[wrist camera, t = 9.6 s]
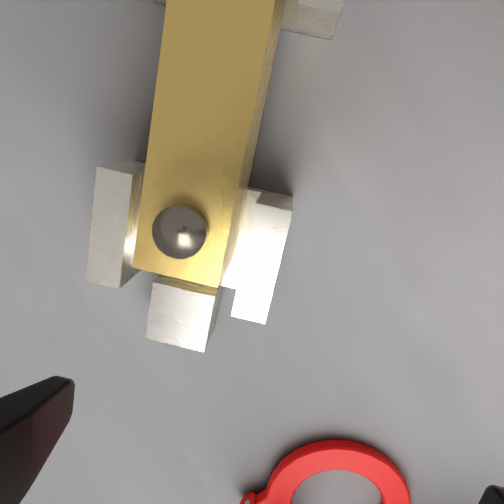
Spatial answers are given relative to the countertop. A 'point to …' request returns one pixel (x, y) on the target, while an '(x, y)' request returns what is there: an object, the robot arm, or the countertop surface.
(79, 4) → the countertop surface
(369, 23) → the countertop surface
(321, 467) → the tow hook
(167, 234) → the link
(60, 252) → the countertop surface
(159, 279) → the chain ends
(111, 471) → the countertop surface
